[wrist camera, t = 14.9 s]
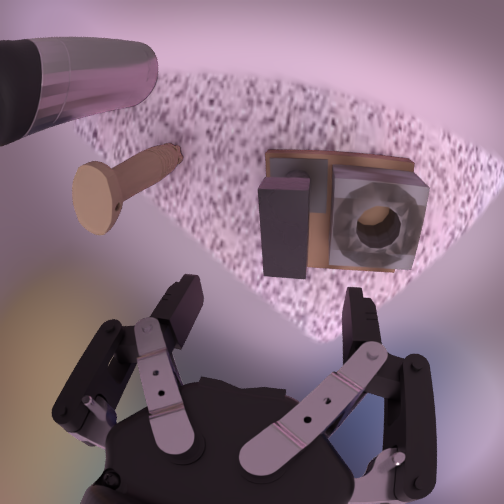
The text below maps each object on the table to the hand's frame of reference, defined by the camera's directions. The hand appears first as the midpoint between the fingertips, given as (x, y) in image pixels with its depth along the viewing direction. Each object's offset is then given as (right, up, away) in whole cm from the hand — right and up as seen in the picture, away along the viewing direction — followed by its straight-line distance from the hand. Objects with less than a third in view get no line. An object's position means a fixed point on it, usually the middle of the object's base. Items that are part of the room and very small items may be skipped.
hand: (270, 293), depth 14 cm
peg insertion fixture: (+9, +7, +16) cm, 20 cm away
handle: (-11, +14, +17) cm, 25 cm away
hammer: (+4, +9, +13) cm, 17 cm away
